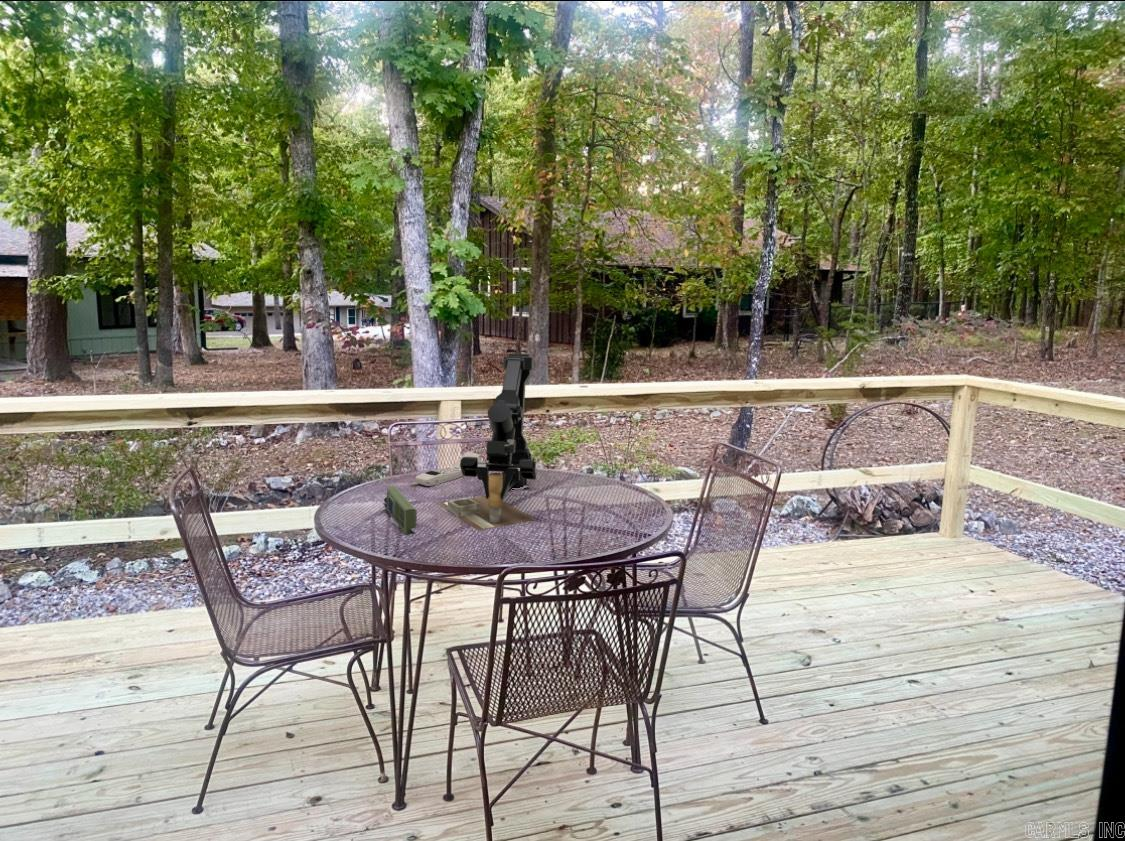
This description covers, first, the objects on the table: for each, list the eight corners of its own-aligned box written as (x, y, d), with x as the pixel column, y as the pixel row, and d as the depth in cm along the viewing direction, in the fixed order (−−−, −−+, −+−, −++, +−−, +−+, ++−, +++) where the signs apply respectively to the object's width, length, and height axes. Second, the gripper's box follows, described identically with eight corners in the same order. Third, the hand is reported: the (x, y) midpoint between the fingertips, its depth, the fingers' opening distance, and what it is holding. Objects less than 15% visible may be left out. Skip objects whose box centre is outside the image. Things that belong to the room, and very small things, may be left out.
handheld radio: (403, 536, 175) (379, 504, 196) (417, 534, 176) (391, 503, 198) (404, 509, 173) (380, 480, 195) (418, 508, 175) (392, 480, 197)
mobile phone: (481, 454, 229) (423, 470, 209) (481, 472, 230) (423, 490, 210) (467, 451, 232) (408, 466, 212) (467, 469, 233) (408, 486, 213)
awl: (498, 518, 183) (498, 472, 181) (504, 522, 180) (505, 475, 178) (486, 520, 181) (486, 473, 179) (492, 524, 179) (492, 477, 176)
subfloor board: (491, 499, 202) (491, 486, 201) (535, 524, 184) (535, 509, 183) (438, 509, 193) (438, 494, 193) (478, 536, 175) (478, 520, 174)
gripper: (461, 425, 181) (451, 480, 172) (536, 428, 179) (530, 484, 171) (467, 448, 190) (458, 502, 181) (539, 451, 189) (533, 506, 180)
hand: (494, 498), depth 178 cm, fingers closed on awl, 3 cm apart
